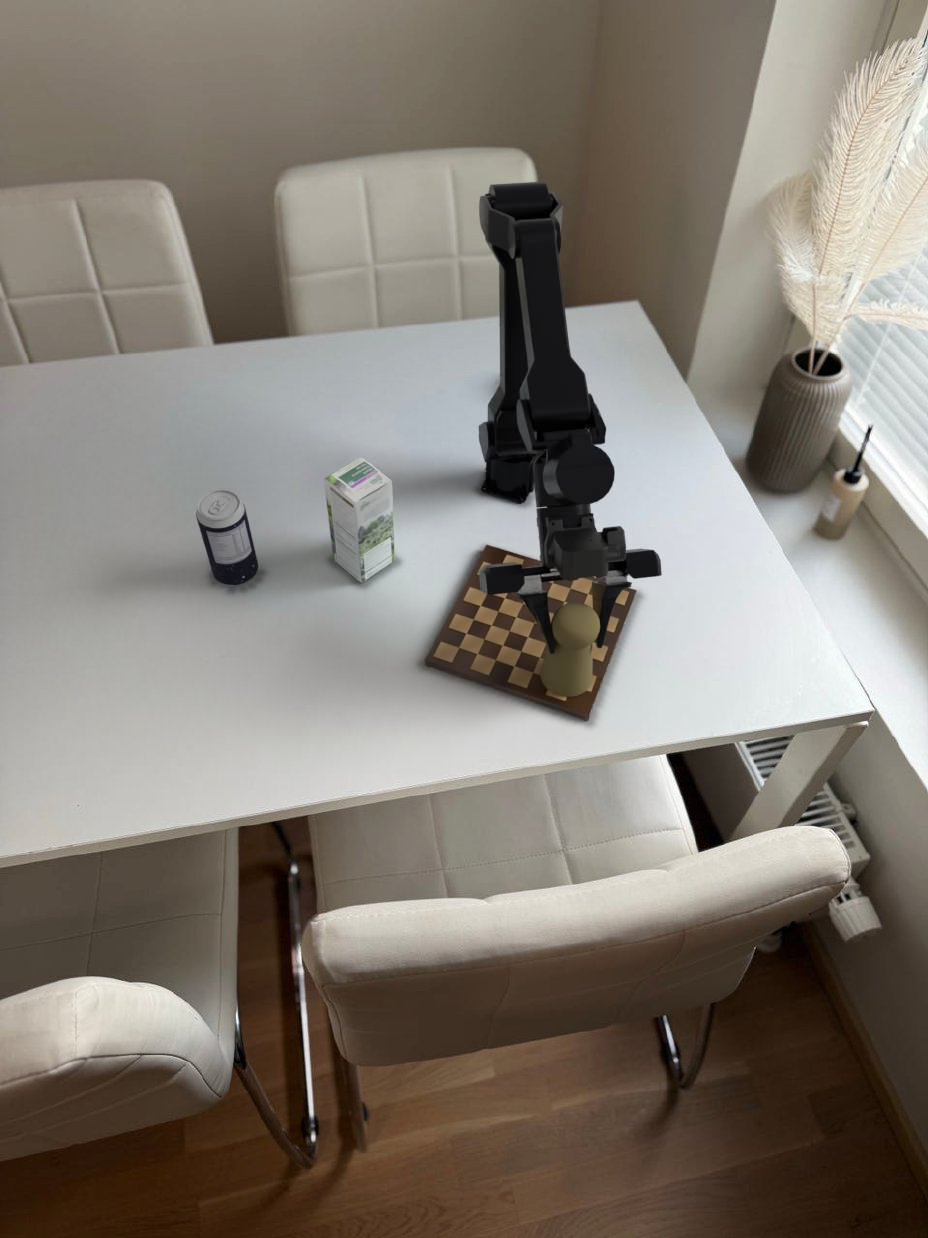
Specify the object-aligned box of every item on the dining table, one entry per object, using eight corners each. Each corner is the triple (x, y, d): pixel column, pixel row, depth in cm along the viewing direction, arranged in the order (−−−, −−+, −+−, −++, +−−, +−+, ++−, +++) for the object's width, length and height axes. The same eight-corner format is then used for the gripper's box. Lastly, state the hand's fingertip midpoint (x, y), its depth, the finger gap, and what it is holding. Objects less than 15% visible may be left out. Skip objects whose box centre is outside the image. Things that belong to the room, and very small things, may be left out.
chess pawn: (578, 705, 103) (590, 647, 94) (530, 682, 105) (538, 622, 96) (601, 668, 106) (615, 608, 98) (555, 645, 108) (564, 585, 99)
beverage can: (267, 563, 117) (252, 494, 108) (246, 595, 114) (228, 526, 104) (227, 551, 118) (209, 482, 109) (205, 583, 115) (184, 514, 106)
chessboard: (424, 665, 108) (424, 659, 107) (486, 549, 119) (486, 543, 118) (588, 721, 103) (589, 715, 102) (635, 595, 115) (637, 589, 114)
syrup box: (366, 538, 120) (359, 453, 109) (397, 562, 118) (392, 478, 106) (332, 560, 118) (321, 475, 106) (363, 586, 115) (354, 502, 104)
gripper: (488, 514, 89) (503, 673, 91) (674, 495, 91) (685, 651, 93) (472, 514, 100) (486, 656, 102) (639, 497, 102) (649, 637, 104)
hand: (575, 650), depth 100 cm, fingers closed on chess pawn, 5 cm apart
